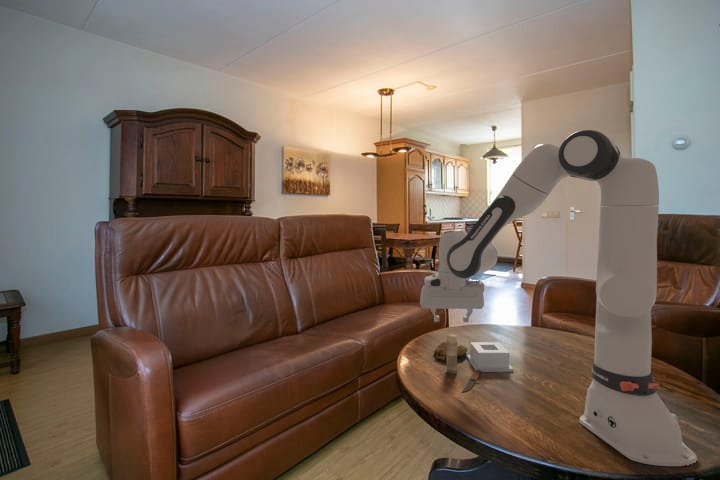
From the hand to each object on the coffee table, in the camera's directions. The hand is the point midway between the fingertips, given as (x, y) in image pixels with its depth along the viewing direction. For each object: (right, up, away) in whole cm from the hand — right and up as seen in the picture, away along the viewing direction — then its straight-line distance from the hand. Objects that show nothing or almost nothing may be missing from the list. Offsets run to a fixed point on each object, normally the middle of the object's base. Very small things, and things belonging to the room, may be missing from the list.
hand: (451, 321), depth 119 cm
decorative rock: (+3, -16, +15) cm, 23 cm away
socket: (+15, -16, +6) cm, 23 cm away
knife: (+5, -18, -7) cm, 20 cm away
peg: (0, -17, +1) cm, 17 cm away
